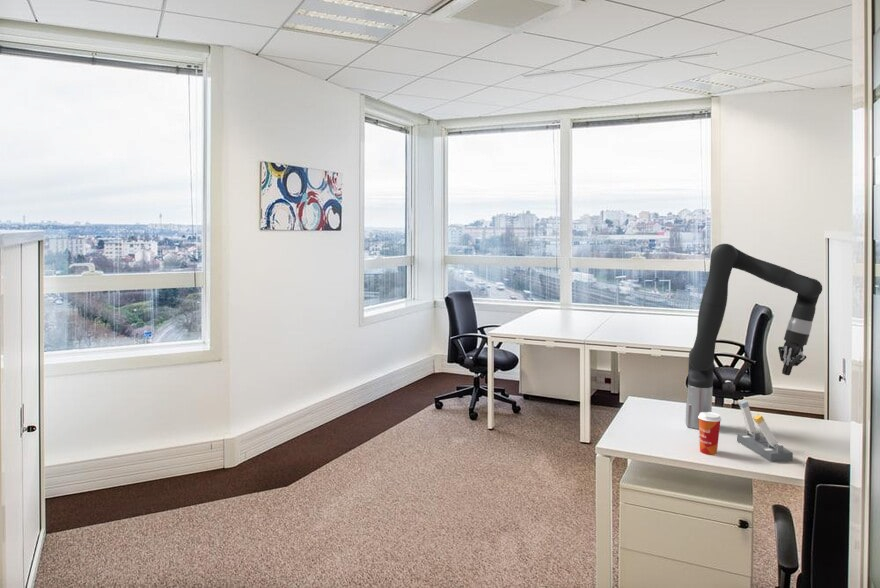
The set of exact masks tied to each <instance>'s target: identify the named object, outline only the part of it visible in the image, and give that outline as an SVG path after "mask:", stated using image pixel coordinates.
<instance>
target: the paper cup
mask: <svg viewBox="0 0 880 588" xmlns="http://www.w3.org/2000/svg"><path fill="white" fill-rule="evenodd" d="M698 418H699V429H698V431H699V433H698V434H699V437H698V438H699V452H700V453H701V454H705V455H708V456H709V455H710V456H711V455H717V453H718V445H719V438H720V436H719V435H720V428H721V421H722V417H721V415H720V414H719V413H716V412H714V411H712V412H704V413H703V412H701V413H700V414H699V416H698Z"/></svg>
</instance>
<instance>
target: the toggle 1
mask: <svg viewBox="0 0 880 588" xmlns="http://www.w3.org/2000/svg"><path fill="white" fill-rule="evenodd" d="M738 404H739V407H740V411H741V414H742V416H743V420H744V423H745V427H746V429H747V430H748V431H749V434H751V435H753V436H754V433H755V431H756V432H757V428H756V424H755V420H754V419H753V415H752V412H751V409H750V406H749V402H748V401H747V400H745V399H744V400H741V401H738Z"/></svg>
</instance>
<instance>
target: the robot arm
mask: <svg viewBox="0 0 880 588" xmlns="http://www.w3.org/2000/svg"><path fill="white" fill-rule="evenodd" d="M710 253H711V254H710V262H709V271H708V272H709V273H708V277H707V282H706V284H705V286H704V290H703V293H702V297H701V301H700V305H699V310H698V314H697V315H698V317H697V325H696V326H697V329H696V331H697V332H696V335H695V341H694V344H693V347H692V348H691V349H690V351H689V352H688V353H689V354H688V369H687V370H688V372H687V373H688V374H687V396H686V397H687V400H686V404H685V405H686V406H685V425H686V427H687V428H690V429H695V430H699V418H698V416H699V414H700V413H701V412H703V413H704V412H713V411H712V410H713V409H712V407H713V388H714V386H713V384H714V363H715V349H716V344H717V338H718V335H719V333H720V330H721V327H722V324H723V320H724V316H725V312H726V308H727V303H728V296H729V295H728V294H729V293H728V292H729V281H730V276H731V273H732V270H733V269H735V270H739V271H743V272H745V273H748V274H750V275H753V276H754V277H757V278H759V279H761V280H763V281H765V282H768V283H770V284H772V285H775V286H777V287H780V288H783V289H787V290H789V291H792V292H794V293H796V294H797V295H796V299H795V300H796V302H795V303H794V306H793V309H792V312H791V316H790V319H789V320H788V323H787V327H786V330H785V334H784V336H783V340H784V341H785V342H784V343H783V345H782V346H778V353H779V354H778V355H779V357H780V358H779V359H780V361H781V362H783V367H782V370H781V374H783V375H784V376H790V375H791V373H792V370H793V367H797V366H799V365H801V363H802V362H804V361H805V360H806V359H807V356H806V355H804V353H803V352H804V346H806V345H808V341H809V337H810V334H811V331H812V327H813V322H814V318H815V314H816V309H817V308H816V307H817V303H818V300H819V297H820V295H821V294H822V291H823V285H822V282H820V281H819V280H817V278H813V277H809V276H806V275H803V274H800V273H796V272H795V271H793V270H791V269H788V268H786V267H783V266H780V265H777V264H775V263H772V262H769V261H766V260H761V259H759V258H756V257H754V256H751V255H749V254H747V253H745V252H743V251H742V250H739V249H738V248H736V247H735V246H733V245H731V244H729V243H720V244H718V245H716V246H715V247H714V248H713V249H712V250H711V252H710Z"/></svg>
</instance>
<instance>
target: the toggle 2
mask: <svg viewBox="0 0 880 588" xmlns="http://www.w3.org/2000/svg"><path fill="white" fill-rule="evenodd" d="M752 418H753V421H754V423H756V425H757V426H758V428H759V430H760V432H761V434H762V436H764V437H765V438H766V440H767V441H768V443H769V444H770V445H771V446H772V447H774V448H775V449H777V445H775V444H779V443H778V440H777V439H776V437H775V436H774V434H773V432H772V430H771V429H770V427H769V426H768V423H767V422H766V421H765V418H764V417H763V416H762V415H760V414H756V415H755V416H754V417H753V416H752Z"/></svg>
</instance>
